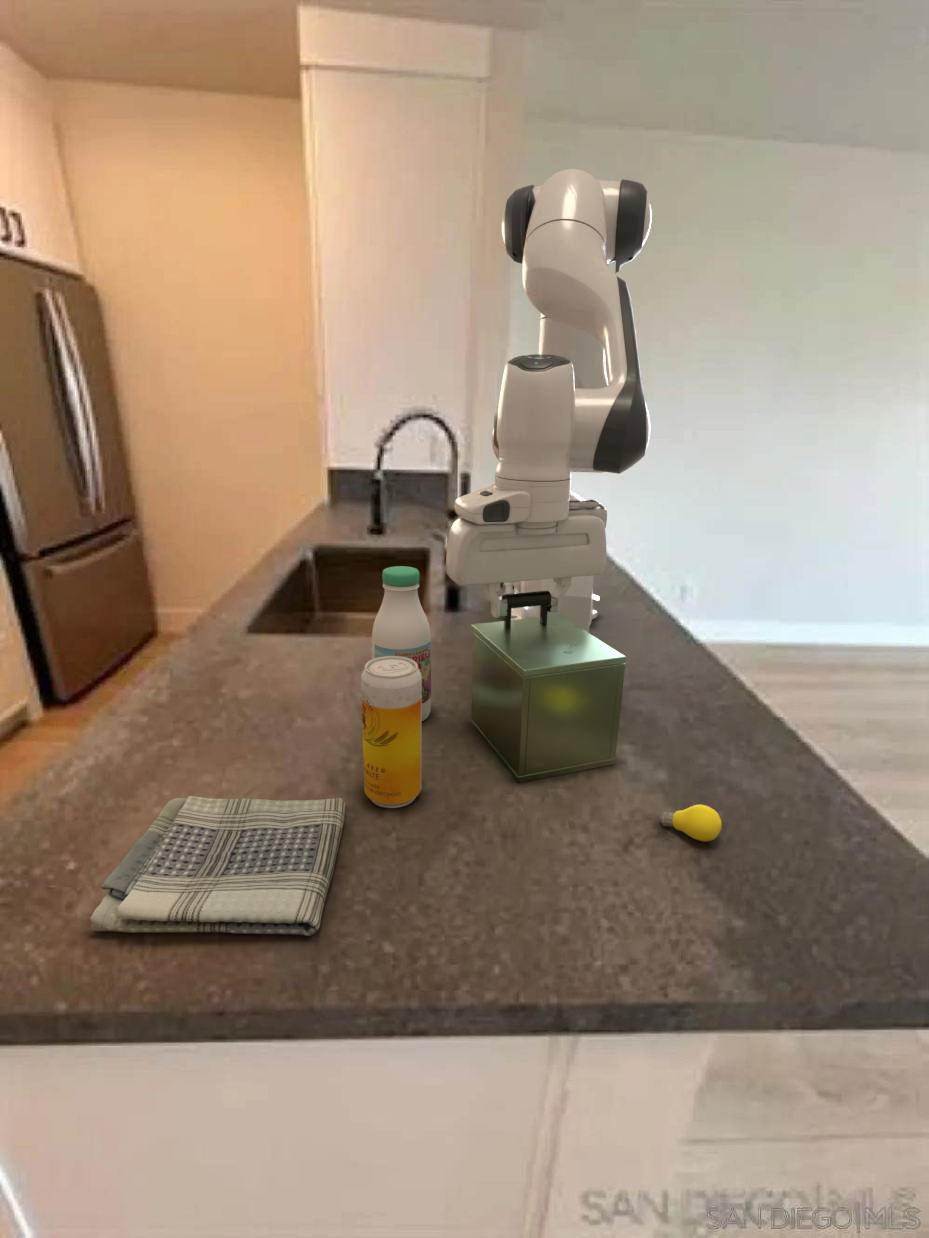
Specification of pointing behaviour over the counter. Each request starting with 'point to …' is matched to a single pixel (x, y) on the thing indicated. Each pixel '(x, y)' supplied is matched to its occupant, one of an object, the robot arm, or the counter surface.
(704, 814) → the light bulb
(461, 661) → the counter surface
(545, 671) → the green panel
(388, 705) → the beer can
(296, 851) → the dish towel
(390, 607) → the milk bottle
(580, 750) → the olive green box
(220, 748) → the counter surface
